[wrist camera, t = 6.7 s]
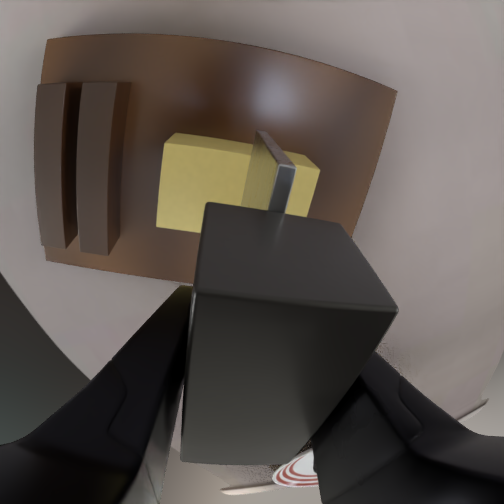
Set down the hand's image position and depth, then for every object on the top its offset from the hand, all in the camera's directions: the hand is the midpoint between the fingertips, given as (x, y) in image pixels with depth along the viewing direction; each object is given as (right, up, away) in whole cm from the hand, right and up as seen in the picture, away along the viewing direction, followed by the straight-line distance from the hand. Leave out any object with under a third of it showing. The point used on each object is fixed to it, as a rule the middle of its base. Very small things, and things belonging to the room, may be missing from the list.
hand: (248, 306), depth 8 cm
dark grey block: (0, +2, +4) cm, 4 cm away
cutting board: (-3, +7, +10) cm, 13 cm away
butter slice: (+2, +5, +10) cm, 12 cm away
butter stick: (-2, +6, +9) cm, 11 cm away
